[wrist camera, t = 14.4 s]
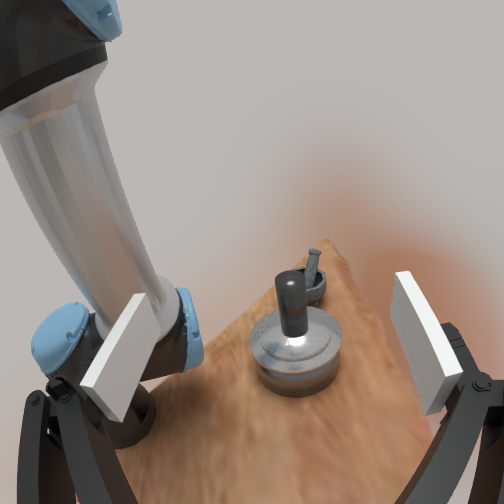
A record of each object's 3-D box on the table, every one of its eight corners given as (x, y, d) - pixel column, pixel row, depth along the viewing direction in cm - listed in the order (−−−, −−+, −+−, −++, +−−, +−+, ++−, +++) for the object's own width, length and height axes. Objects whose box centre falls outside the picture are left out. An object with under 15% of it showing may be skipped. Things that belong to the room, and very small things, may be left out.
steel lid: (245, 337, 49) (232, 282, 44) (296, 303, 55) (290, 250, 50) (294, 374, 41) (288, 317, 35) (345, 331, 46) (348, 273, 41)
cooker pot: (239, 365, 54) (231, 336, 50) (298, 325, 61) (296, 295, 58) (296, 414, 42) (293, 387, 38) (356, 360, 50) (360, 329, 46)
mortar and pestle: (311, 322, 61) (309, 275, 56) (277, 308, 67) (271, 264, 62) (336, 293, 68) (335, 249, 63) (303, 283, 74) (300, 241, 69)
